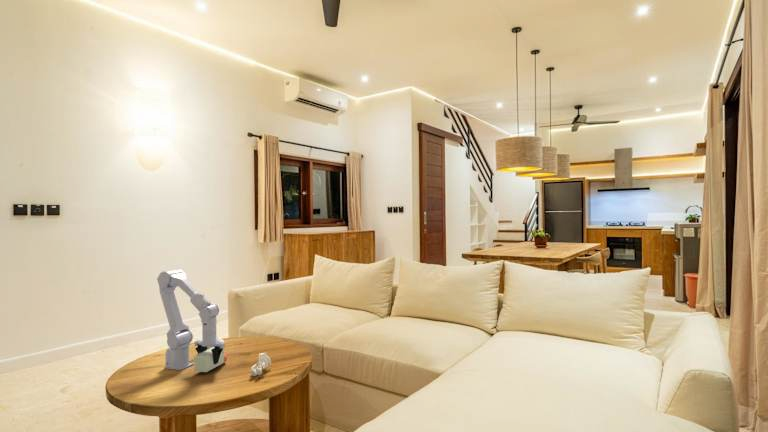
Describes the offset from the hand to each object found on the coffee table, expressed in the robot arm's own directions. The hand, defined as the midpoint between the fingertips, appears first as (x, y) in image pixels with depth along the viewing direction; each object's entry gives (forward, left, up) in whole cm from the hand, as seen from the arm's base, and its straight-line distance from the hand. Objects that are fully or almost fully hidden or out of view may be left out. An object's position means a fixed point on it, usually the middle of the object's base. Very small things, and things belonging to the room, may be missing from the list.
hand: (209, 362), depth 182 cm
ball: (0, +8, -1) cm, 8 cm away
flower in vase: (-20, +26, -3) cm, 33 cm away
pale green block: (0, 0, -2) cm, 2 cm away
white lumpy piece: (+25, -1, -3) cm, 25 cm away
